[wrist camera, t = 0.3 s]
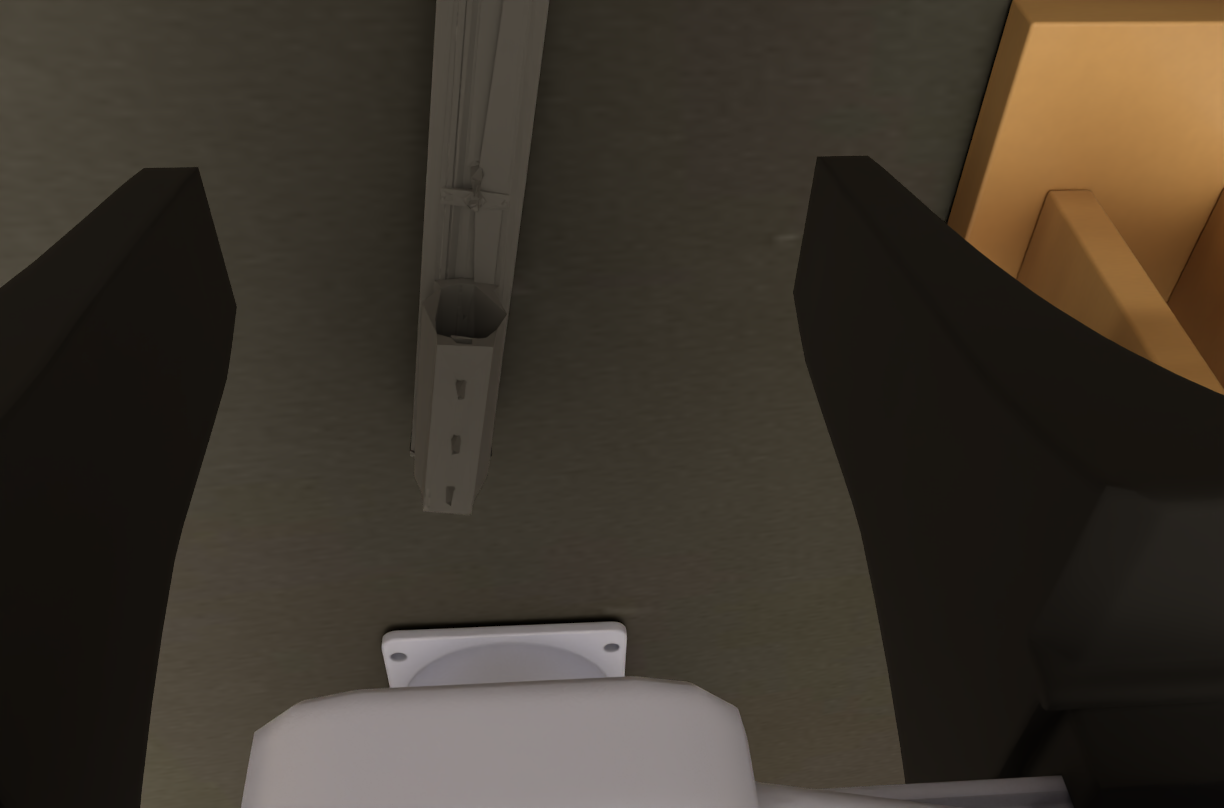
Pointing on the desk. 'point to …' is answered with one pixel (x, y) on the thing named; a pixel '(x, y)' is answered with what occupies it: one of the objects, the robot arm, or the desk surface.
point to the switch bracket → (1109, 171)
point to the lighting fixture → (471, 235)
